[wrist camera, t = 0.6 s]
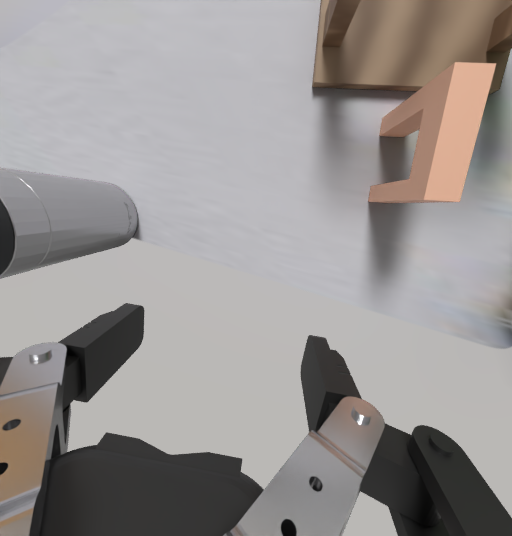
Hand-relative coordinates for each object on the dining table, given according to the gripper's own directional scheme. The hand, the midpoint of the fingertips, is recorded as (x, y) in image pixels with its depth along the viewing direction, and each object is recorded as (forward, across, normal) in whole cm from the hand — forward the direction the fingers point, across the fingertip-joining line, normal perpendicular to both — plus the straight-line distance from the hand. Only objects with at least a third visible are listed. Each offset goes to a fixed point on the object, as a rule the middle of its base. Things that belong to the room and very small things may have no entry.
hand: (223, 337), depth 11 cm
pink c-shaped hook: (+24, +15, +14) cm, 32 cm away
